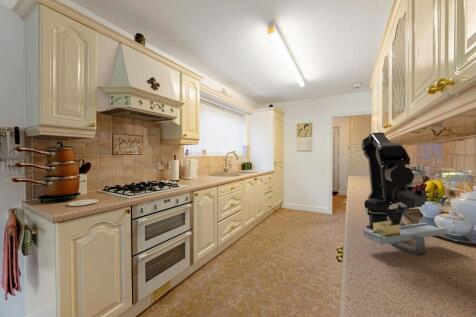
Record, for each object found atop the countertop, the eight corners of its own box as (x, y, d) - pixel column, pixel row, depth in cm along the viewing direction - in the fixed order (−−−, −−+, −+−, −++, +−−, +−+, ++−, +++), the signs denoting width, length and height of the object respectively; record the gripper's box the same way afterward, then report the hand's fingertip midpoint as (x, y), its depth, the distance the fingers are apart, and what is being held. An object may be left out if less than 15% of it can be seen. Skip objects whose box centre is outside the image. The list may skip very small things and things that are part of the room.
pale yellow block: (373, 233, 70) (372, 222, 70) (388, 231, 71) (387, 220, 71) (385, 237, 66) (384, 226, 66) (400, 235, 67) (399, 224, 67)
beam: (363, 237, 71) (362, 229, 71) (424, 228, 76) (423, 220, 76) (382, 246, 64) (381, 237, 64) (449, 235, 68) (448, 226, 68)
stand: (388, 242, 75) (387, 227, 75) (394, 242, 75) (393, 227, 75) (419, 255, 64) (418, 238, 64) (425, 254, 65) (424, 237, 65)
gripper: (390, 186, 60) (396, 240, 60) (441, 180, 63) (446, 231, 63) (361, 183, 71) (365, 228, 70) (405, 178, 74) (409, 221, 74)
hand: (396, 227), depth 69 cm, fingers closed
